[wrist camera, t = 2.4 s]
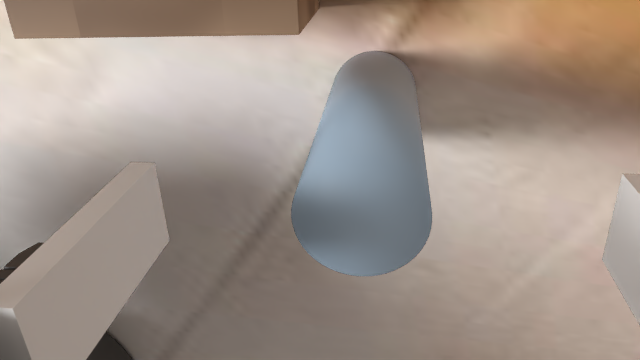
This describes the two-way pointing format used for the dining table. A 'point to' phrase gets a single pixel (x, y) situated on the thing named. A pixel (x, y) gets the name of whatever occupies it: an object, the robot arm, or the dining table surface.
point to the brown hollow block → (157, 17)
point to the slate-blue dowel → (366, 172)
